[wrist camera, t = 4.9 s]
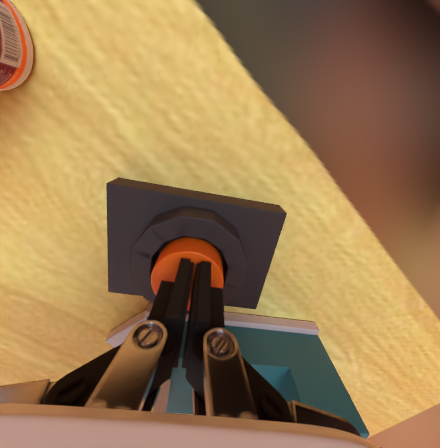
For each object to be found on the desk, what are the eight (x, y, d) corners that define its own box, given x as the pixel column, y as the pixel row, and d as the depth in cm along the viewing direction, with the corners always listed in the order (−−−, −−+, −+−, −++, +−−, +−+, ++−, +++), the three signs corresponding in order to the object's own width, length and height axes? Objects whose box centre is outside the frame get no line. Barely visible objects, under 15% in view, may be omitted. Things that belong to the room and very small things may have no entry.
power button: (155, 286, 14) (148, 306, 12) (160, 231, 12) (152, 246, 11) (216, 294, 14) (216, 314, 13) (227, 241, 13) (230, 257, 11)
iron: (110, 359, 21) (21, 559, 11) (109, 298, 18) (-13, 495, 8) (289, 374, 23) (348, 556, 13) (314, 321, 20) (414, 504, 10)
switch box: (117, 277, 17) (95, 311, 14) (118, 177, 14) (89, 190, 11) (252, 294, 18) (260, 328, 15) (279, 205, 15) (297, 224, 12)
